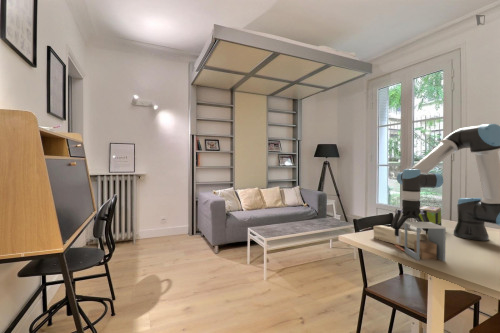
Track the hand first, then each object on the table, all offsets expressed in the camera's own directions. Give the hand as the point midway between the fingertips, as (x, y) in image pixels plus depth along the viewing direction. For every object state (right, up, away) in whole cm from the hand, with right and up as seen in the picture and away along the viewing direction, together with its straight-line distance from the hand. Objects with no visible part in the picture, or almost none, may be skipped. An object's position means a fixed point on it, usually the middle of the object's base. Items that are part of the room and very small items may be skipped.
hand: (410, 242), depth 119 cm
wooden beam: (-2, -2, +6) cm, 7 cm away
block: (0, -3, -10) cm, 11 cm away
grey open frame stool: (0, -3, -6) cm, 7 cm away
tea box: (+37, -3, +36) cm, 51 cm away
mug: (+24, -3, +40) cm, 47 cm away
